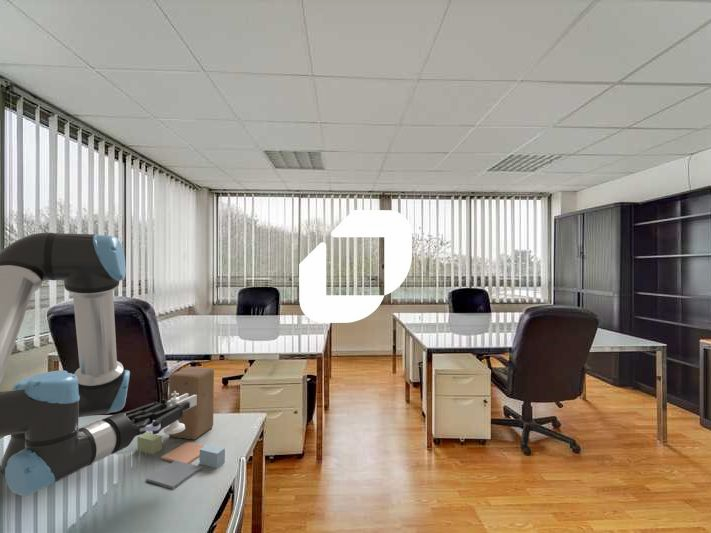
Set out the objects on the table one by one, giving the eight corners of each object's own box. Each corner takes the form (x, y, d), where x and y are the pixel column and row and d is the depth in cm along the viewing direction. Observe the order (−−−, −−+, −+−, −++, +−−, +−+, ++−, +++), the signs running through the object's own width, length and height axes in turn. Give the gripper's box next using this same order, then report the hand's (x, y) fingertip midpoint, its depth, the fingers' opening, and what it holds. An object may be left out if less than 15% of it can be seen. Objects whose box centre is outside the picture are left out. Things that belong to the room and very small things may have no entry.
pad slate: (146, 480, 89) (146, 478, 89) (175, 462, 98) (175, 460, 98) (173, 489, 86) (173, 486, 86) (201, 469, 95) (201, 467, 95)
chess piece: (183, 432, 90) (183, 393, 90) (161, 435, 89) (162, 395, 89) (186, 424, 95) (187, 387, 95) (166, 426, 94) (166, 388, 94)
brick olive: (137, 450, 104) (137, 436, 104) (146, 445, 107) (146, 432, 107) (152, 454, 102) (152, 440, 102) (161, 449, 105) (161, 435, 105)
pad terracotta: (161, 458, 100) (161, 456, 100) (186, 443, 108) (186, 441, 108) (186, 465, 97) (186, 463, 97) (210, 449, 105) (210, 447, 105)
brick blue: (199, 464, 98) (199, 449, 98) (207, 458, 100) (207, 444, 100) (217, 468, 96) (217, 453, 96) (224, 462, 98) (224, 448, 98)
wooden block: (195, 441, 110) (196, 376, 110) (167, 437, 112) (168, 374, 112) (214, 426, 120) (215, 367, 120) (188, 423, 122) (188, 365, 122)
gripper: (80, 448, 78) (170, 408, 100) (131, 462, 72) (213, 417, 95) (81, 414, 78) (170, 381, 100) (131, 425, 72) (214, 388, 95)
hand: (191, 399), depth 97 cm, fingers closed on chess piece, 2 cm apart
